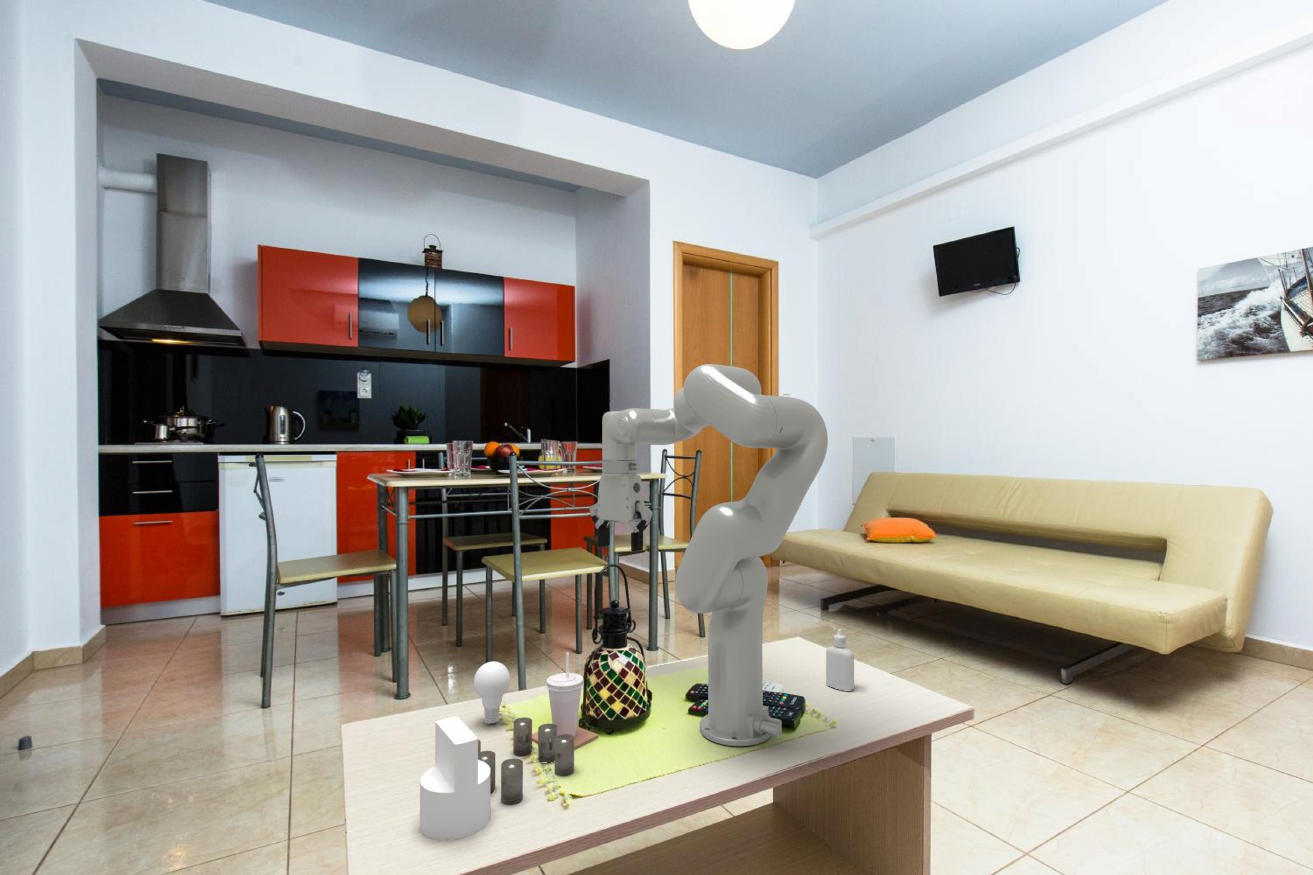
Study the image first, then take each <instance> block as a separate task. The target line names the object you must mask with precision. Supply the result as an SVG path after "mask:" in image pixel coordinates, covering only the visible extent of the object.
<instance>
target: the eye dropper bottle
mask: <svg viewBox="0 0 1313 875" xmlns="http://www.w3.org/2000/svg"><path fill="white" fill-rule="evenodd" d="M846 637H847V636H846V635H844V634H843V630H842V629H841V628H838V629H837V633H836V634H834V635H833V645H831V646H829V647H827V649H826V650H825V653H826V654H825V672H826V673H825V675H826V676H825V677H826V678H825V684H826V685H827V686H828V687H829V686H830V687H829V688H831V687H833V688H835V689H834V690H836V689H840V690H846V691H849V692H851V691H853V690H854V689H855V656H854V652H853V650H850V649H849V648H848V647H847V638H846ZM833 688H832V689H833ZM852 689H853V690H852ZM840 690H839V691H840ZM846 691H845V692H846Z"/></svg>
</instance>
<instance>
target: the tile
mask: <svg viewBox="0 0 1313 875" xmlns="http://www.w3.org/2000/svg"><path fill="white" fill-rule="evenodd" d="M598 738H599V734H597V733H595V732H593V731H589V730H587V729H585V728H582V727H579V726H577V730H576V736H575V738H574V751H575V750H576V749H579V748H581V747H583V746H584V745H585V746H586V745H587V744H588V743H590V742H592V741H595V740H596V739H598ZM533 742H534V743H535V744H537V745H538V731H537V732H535V733H532V743H533Z"/></svg>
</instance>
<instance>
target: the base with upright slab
mask: <svg viewBox="0 0 1313 875" xmlns="http://www.w3.org/2000/svg"><path fill="white" fill-rule="evenodd" d="M434 731H435V734H434V735H435V737H434V738H435V741H434V742H435V744H434V745H435V748H434V749H435V750H434V751H435V752H434V753H435V754H434V755H435V757H434V760H435V763H434V764H435V765H434V766H432V767H430V768H428V769H427V770H425V771H424V772H423V774H422V775H421V777H420V781H419V790H420V791H419V828H420V829H419V830H420V832H421V833H422V834H423V836H425V837H427V838H428V839H431V840H436V841H456V840H460V839H463V838H467V837H469V836H471V835H474V834H476V833H478V832H479V831H480V830H482V829H483V828H484V827H485V826H486V825H487V824H488V823H489V821H490V818H491V794H490V767H489V765H488V764H486V763H485V762H483V761H480V760H478V740H479V737H477V735H475V734H474V732H473V731H472V730H470V728H469V727H468V726H467V725H466V724H465V723H464V722H463V721H462V720H461V719H460V718H459V717H458V716H450V717H445V718H442V719H439V720H436V721H435V729H434Z"/></svg>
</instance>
